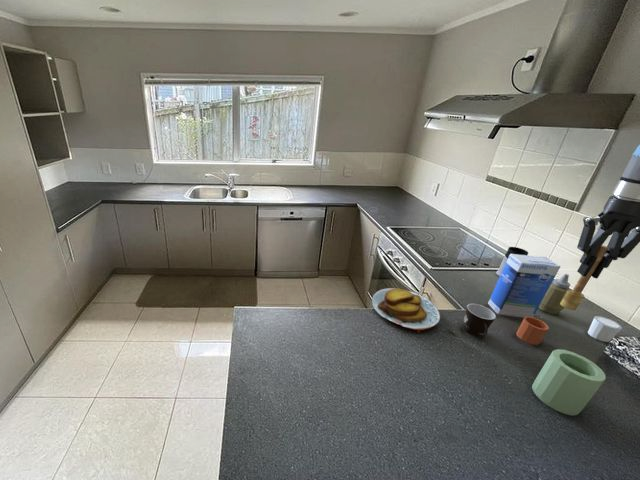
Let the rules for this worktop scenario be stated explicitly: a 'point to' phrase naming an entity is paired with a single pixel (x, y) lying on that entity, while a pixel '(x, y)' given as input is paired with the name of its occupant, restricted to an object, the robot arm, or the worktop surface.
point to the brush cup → (532, 330)
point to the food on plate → (406, 308)
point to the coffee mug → (477, 320)
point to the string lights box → (523, 285)
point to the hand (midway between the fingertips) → (587, 274)
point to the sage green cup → (567, 382)
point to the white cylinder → (603, 328)
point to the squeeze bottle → (555, 295)
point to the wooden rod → (581, 284)
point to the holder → (510, 251)
